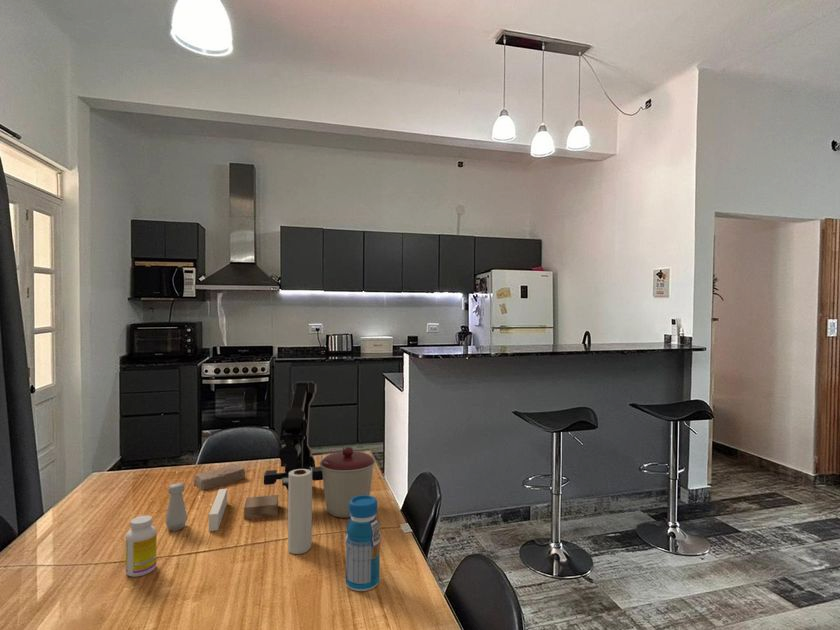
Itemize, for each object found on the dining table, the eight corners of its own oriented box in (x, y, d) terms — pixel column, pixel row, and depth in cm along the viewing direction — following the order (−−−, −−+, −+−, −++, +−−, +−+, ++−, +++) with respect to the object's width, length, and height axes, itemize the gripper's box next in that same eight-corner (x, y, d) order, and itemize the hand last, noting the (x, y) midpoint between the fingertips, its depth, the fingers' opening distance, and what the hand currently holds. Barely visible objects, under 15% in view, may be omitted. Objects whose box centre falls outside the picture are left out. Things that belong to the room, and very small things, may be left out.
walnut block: (278, 506, 156) (278, 494, 156) (277, 516, 148) (277, 504, 148) (246, 509, 153) (246, 497, 153) (244, 520, 145) (244, 507, 145)
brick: (202, 491, 168) (202, 478, 168) (192, 485, 174) (193, 472, 174) (245, 480, 180) (245, 468, 180) (235, 474, 186) (236, 462, 186)
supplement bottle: (162, 566, 118) (162, 516, 118) (139, 580, 112) (139, 527, 112) (143, 561, 120) (143, 512, 120) (119, 574, 114) (119, 522, 114)
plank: (227, 503, 157) (227, 488, 157) (217, 530, 138) (218, 513, 138) (219, 504, 156) (219, 489, 156) (208, 531, 137) (208, 514, 137)
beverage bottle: (350, 596, 106) (350, 509, 106) (341, 577, 114) (341, 496, 114) (384, 588, 110) (385, 504, 110) (373, 569, 118) (374, 491, 117)
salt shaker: (191, 525, 141) (191, 482, 140) (174, 533, 135) (174, 489, 135) (178, 521, 143) (178, 479, 143) (161, 529, 138) (161, 486, 138)
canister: (316, 503, 158) (317, 441, 157) (368, 497, 163) (369, 437, 163) (322, 527, 140) (322, 457, 140) (380, 519, 146) (381, 452, 146)
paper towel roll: (290, 557, 123) (291, 476, 123) (285, 546, 129) (286, 469, 128) (317, 550, 127) (317, 472, 126) (311, 541, 132) (312, 466, 132)
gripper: (321, 445, 163) (320, 489, 163) (265, 449, 158) (265, 494, 158) (323, 454, 153) (322, 502, 153) (263, 459, 148) (263, 508, 148)
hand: (293, 501), depth 153 cm, fingers closed
